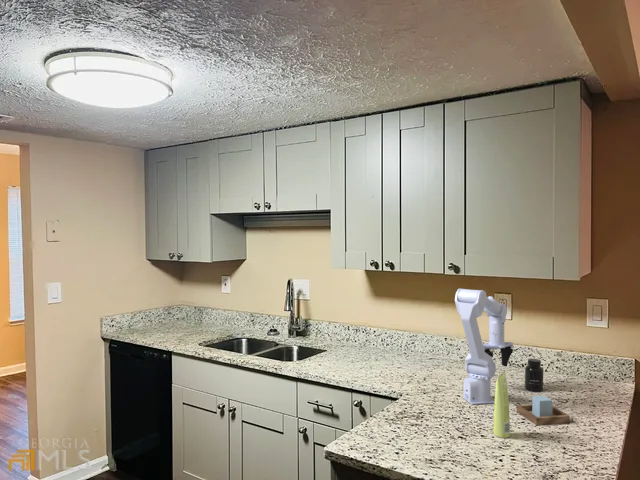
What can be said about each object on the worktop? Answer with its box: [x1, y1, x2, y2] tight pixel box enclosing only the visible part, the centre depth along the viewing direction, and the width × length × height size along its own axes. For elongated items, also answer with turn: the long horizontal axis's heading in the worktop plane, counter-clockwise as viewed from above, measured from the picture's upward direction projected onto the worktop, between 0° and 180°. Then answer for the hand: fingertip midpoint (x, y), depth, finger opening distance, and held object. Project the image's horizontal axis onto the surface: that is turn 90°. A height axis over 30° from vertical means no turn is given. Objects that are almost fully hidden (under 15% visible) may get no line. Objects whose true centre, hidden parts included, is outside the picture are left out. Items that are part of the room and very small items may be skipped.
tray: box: [516, 404, 571, 426], centre depth 167 cm, size 12×12×2 cm
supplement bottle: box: [524, 358, 544, 393], centre depth 196 cm, size 7×7×12 cm
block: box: [531, 395, 553, 417], centre depth 167 cm, size 4×4×6 cm
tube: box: [493, 370, 511, 439], centre depth 153 cm, size 6×5×20 cm
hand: (496, 366), depth 196 cm, fingers open, 7 cm apart
